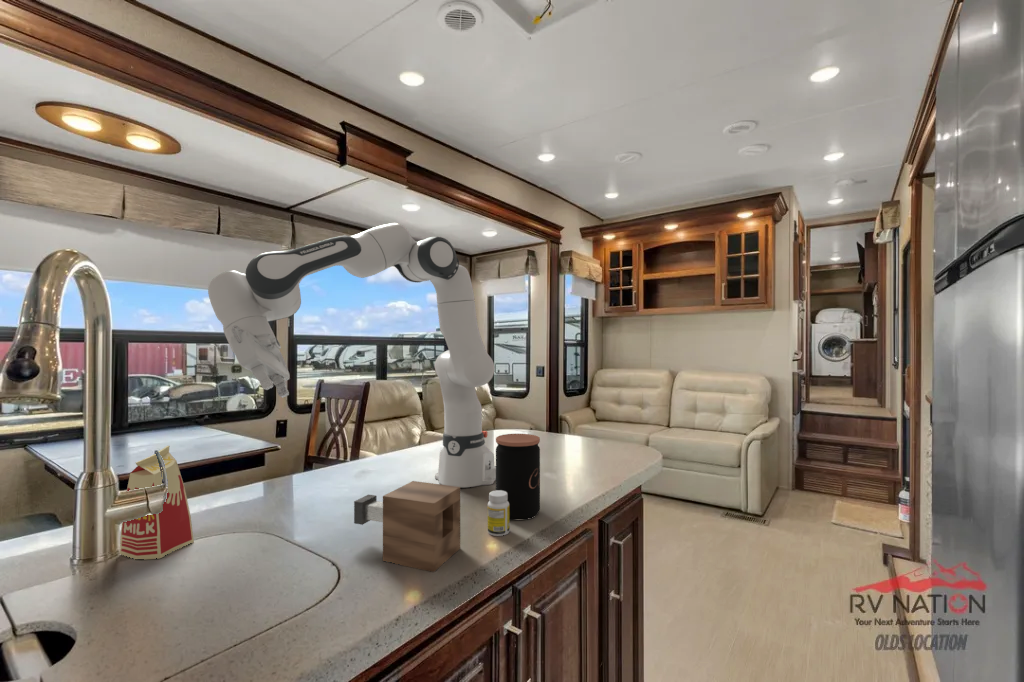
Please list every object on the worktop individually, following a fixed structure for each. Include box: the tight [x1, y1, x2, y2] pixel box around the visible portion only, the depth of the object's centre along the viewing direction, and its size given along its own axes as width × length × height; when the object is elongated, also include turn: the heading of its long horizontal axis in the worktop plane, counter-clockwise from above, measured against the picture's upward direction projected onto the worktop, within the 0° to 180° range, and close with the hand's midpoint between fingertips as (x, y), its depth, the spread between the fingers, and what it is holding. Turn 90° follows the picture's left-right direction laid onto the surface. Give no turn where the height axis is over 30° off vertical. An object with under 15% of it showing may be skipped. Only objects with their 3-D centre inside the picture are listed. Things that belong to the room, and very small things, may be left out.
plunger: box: [353, 494, 383, 526], centre depth 91 cm, size 4×12×4 cm, turn 69°
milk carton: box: [119, 445, 195, 560], centre depth 91 cm, size 9×9×20 cm
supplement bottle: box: [486, 489, 511, 537], centre depth 99 cm, size 5×5×8 cm
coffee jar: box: [495, 433, 541, 520], centre depth 110 cm, size 11×11×18 cm
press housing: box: [382, 480, 461, 573], centre depth 88 cm, size 10×11×12 cm
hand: (277, 392), depth 99 cm, fingers open, 8 cm apart
